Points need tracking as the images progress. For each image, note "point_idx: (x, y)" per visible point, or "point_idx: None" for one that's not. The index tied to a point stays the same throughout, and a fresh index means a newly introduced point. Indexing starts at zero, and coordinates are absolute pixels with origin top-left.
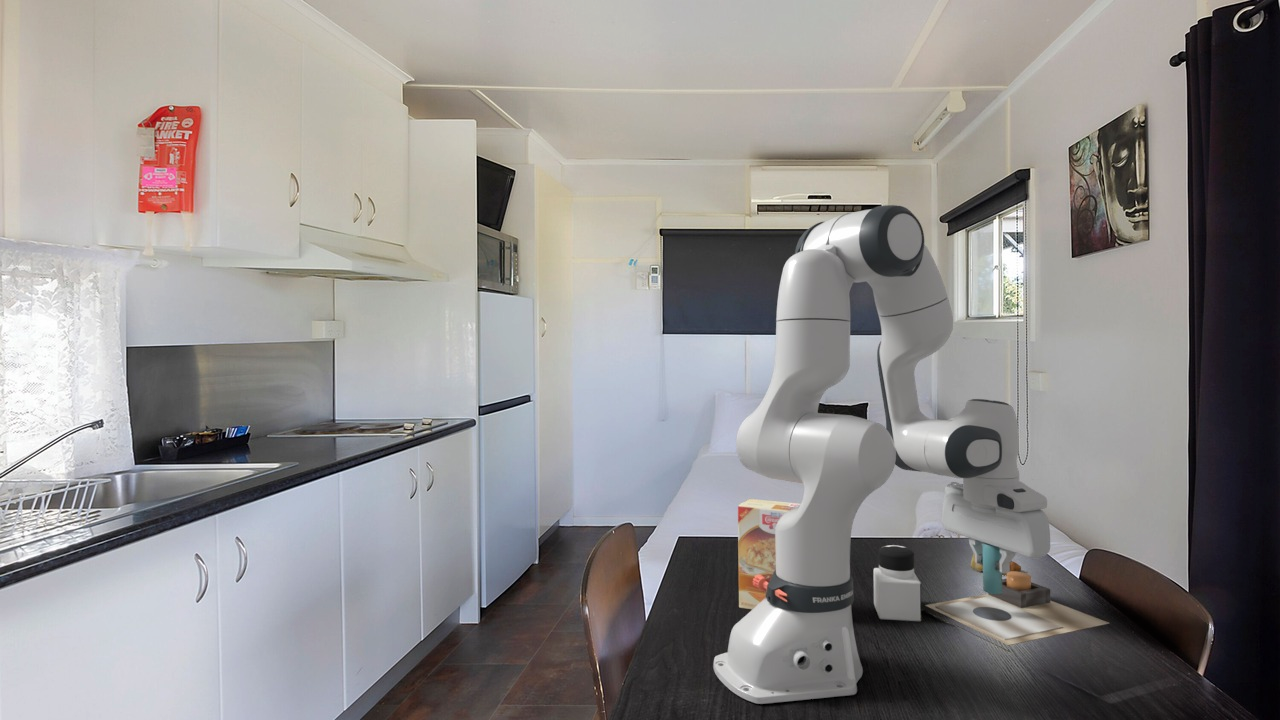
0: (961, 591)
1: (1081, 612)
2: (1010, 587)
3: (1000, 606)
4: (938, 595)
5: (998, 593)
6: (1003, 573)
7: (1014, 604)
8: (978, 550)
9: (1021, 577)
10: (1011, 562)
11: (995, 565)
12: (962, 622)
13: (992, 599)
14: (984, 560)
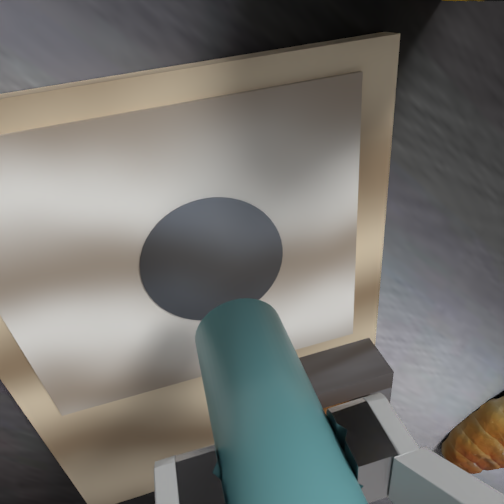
0: (447, 286)
1: None
2: (326, 409)
3: None
4: (465, 197)
5: (196, 341)
6: (156, 461)
7: None
8: (421, 495)
9: None
10: (477, 468)
11: (214, 479)
12: (158, 81)
13: (328, 329)
14: (301, 457)
